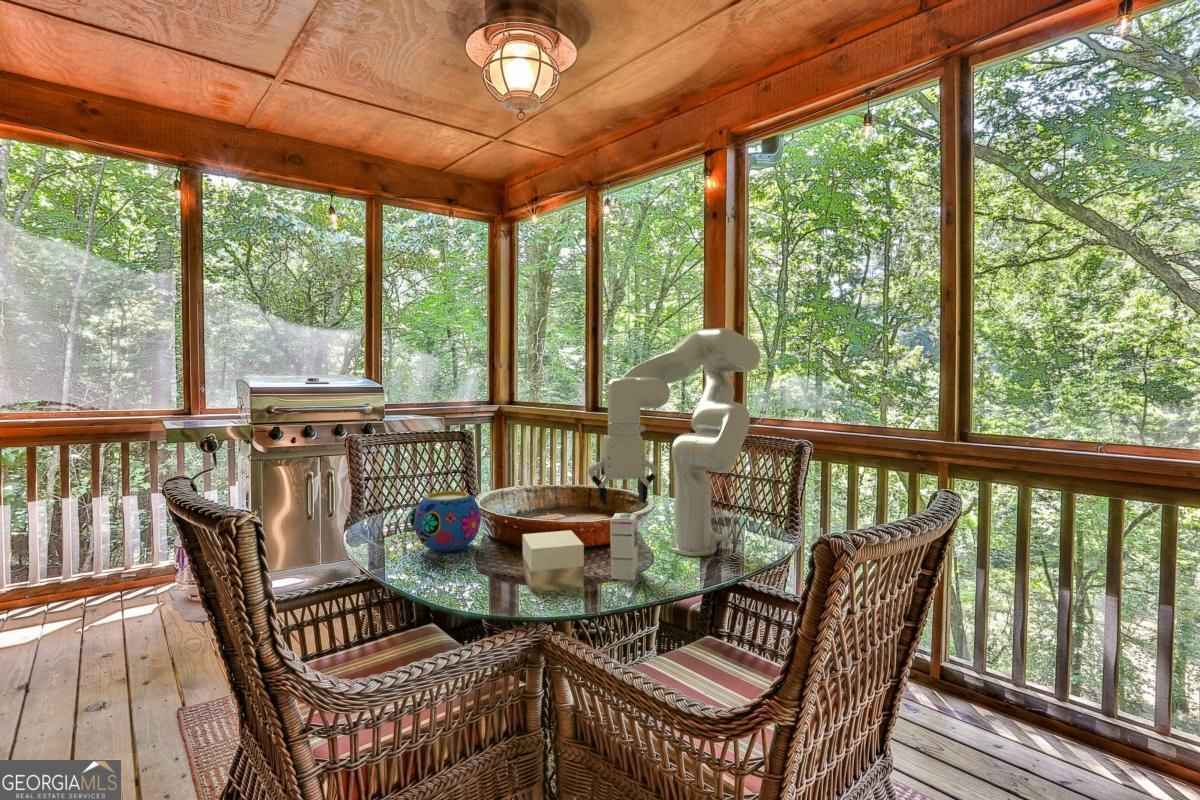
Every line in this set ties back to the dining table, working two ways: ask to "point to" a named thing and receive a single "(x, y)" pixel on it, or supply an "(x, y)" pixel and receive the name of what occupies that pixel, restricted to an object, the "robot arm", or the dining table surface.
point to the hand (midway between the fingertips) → (622, 502)
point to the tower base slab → (553, 578)
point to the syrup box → (624, 546)
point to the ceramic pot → (446, 520)
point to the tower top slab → (552, 550)
